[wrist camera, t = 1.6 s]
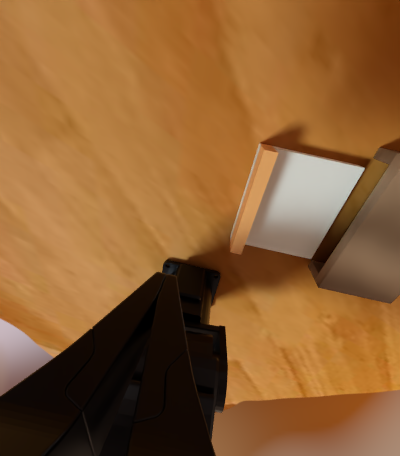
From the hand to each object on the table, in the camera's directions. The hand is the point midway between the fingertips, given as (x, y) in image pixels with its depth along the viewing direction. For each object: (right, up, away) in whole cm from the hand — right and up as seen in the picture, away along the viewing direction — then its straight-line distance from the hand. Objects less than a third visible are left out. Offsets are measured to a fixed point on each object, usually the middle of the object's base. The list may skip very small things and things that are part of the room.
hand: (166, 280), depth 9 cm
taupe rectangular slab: (+17, +3, +10) cm, 20 cm away
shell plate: (+9, +4, +10) cm, 15 cm away
